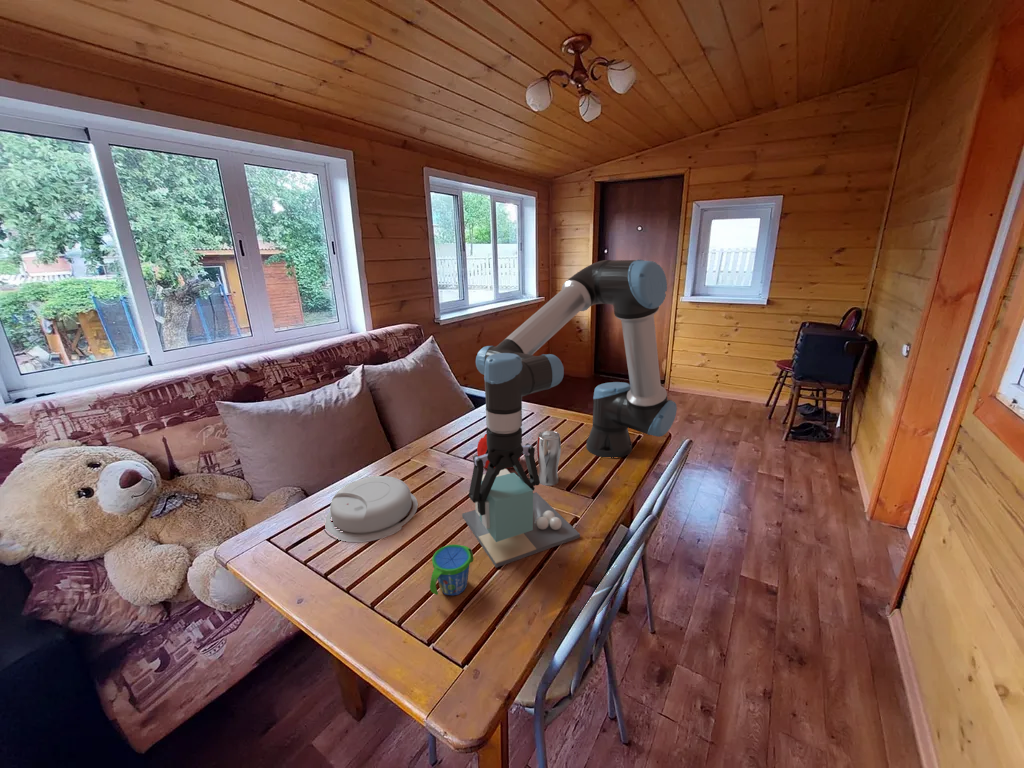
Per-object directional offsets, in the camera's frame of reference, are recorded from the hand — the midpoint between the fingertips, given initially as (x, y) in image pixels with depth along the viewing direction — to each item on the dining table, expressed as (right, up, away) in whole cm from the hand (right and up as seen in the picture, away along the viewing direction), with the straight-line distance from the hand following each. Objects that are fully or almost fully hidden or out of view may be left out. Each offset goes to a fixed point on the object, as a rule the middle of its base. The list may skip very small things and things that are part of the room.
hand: (505, 519), depth 96 cm
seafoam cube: (0, -1, 0) cm, 1 cm away
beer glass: (+12, +1, +30) cm, 33 cm away
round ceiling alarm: (-36, -4, +17) cm, 40 cm away
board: (+3, -5, +10) cm, 11 cm away
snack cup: (-11, -11, -9) cm, 18 cm away
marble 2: (+11, -4, +10) cm, 15 cm away
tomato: (-3, +4, +40) cm, 40 cm away
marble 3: (+12, -4, +7) cm, 15 cm away
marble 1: (+9, -4, +7) cm, 12 cm away
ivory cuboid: (-2, -3, +13) cm, 13 cm away
